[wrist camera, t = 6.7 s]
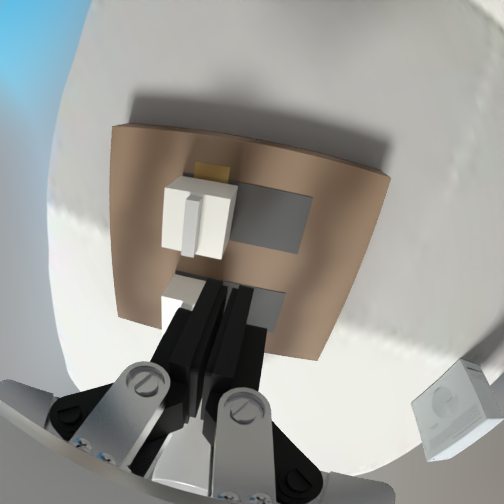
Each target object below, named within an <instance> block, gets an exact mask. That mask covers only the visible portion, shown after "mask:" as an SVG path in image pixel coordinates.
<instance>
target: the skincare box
mask: <svg viewBox="0 0 504 504" xmlns="http://www.w3.org/2000/svg"><path fill="white" fill-rule="evenodd" d="M411 406H412V409H413V412H414V415H415V419H416V422H417V425H418V429H419V432H420V436H421V440H422V444H423V447H424V451H425V456H426V460H427V462H428V461H437V460H445V459H450V458H451V457H453V456H455V455H456V454H457V453H459V452H461V451H462V450H464V449H465V448H466V447H468V446H469V445H471V444H472V443H474V442H475V441H476V440H478V439H479V438H481V437H482V436H483V435H485V434H486V433H487V432H489V431H490V430H491V429H492V428H494V427H495V426H496V425H497V424H499V423H500V422H501V421H502V420H503V419H504V416H503V414H502V411H501V409H500V407H499V405H498V402H497V400H496V398H495V396H494V394H493V392H492V390H491V387H490V385H489V383H488V381H487V379H486V377H485V375H484V373H483V371H482V369H481V368H480V366H479V365H477V364H474V363H471V362H469V361H466V360H464V359H459V360H458V361H457V362H456V363H455V364H454V365H453V366H452V367H451V368H450V369H449V370H448V371H447V372H446V373H445V374H444V375H443V376H442V377H441V378H439V379H438V380H437V381H436V382H435V383H434V384H433V385H432V386H431V387H430V388H428V389H427V390H426V391H425V392H424V393H423V394H422V395H420V396H419V397H418V398H417V399H415V400H414V401H413V402H412V403H411Z"/></svg>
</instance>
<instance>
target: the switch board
mask: <svg viewBox="0 0 504 504" xmlns="http://www.w3.org/2000/svg"><path fill="white" fill-rule="evenodd" d="M180 176H185V177H191V178H197V179H203V180H208V181H214V182H220V183H225V184H231V185H236V186H238V189H237V195H236V201H235V207H234V213H233V219H232V225H231V231H230V237H229V241H228V244H227V246H226V249H225V251H224V254H223V256H222V259H221V260H220V259H216V258H211V257H206V256H201V255H197V254H195V256H194V258H192V257H187V256H183V255H181V251H178V250H173V249H169V248H164V247H161V246H162V222H163V205H164V191H165V187H166V186H168V185H169V184H170V183H172V182H173V181H174V180H176V179H177V178H179V177H180ZM390 180H391V178H390V177H389V176H388V175H386V174H385V173H383V172H382V171H380V170H378V169H374V168H371V167H368V166H365V165H361V164H358V163H354V162H351V161H347V160H344V159H340V158H337V157H333V156H329V155H325V154H321V153H317V152H313V151H309V150H305V149H301V148H296V147H292V146H287V145H283V144H278V143H273V142H268V141H263V140H258V139H253V138H247V137H241V136H235V135H229V134H223V133H216V132H210V131H202V130H195V129H186V128H178V127H168V126H157V125H145V124H130V123H128V124H122V125H116V126H112V139H111V156H110V235H111V252H112V266H113V277H114V287H115V295H116V304H117V311H118V317H120V318H124V319H127V320H130V321H134V322H137V323H140V324H144V325H147V326H151V327H154V328H158V329H162V304H161V296H162V294H163V292H164V290H165V289H166V287H167V285H168V284H169V282H170V280H171V279H172V277H173V275H174V274H177V275H181V276H185V277H190V278H194V279H199V280H203V281H207V279H208V278H212V279H217V280H221V281H223V285H224V286H228V292H227V298H226V304H225V309H226V306H227V303H228V300H229V297H230V294H231V291H232V288H237V289H238V288H239V285H242V286H247V287H251V288H254V292H253V296H252V301H251V305H250V309H249V314H248V318H247V323H246V324H249V325H253V326H258V327H262V328H267V336H266V343H265V350H264V353H270V354H276V355H282V356H288V357H294V358H301V359H308V360H315V361H317V360H318V358H319V357H320V355H321V353H322V351H323V349H324V346H325V344H326V342H327V340H328V338H329V336H330V334H331V332H332V330H333V328H334V326H335V323H336V321H337V319H338V317H339V315H340V313H341V310H342V308H343V306H344V304H345V301H346V299H347V297H348V294H349V292H350V290H351V287H352V285H353V283H354V280H355V278H356V275H357V273H358V270H359V268H360V265H361V263H362V260H363V258H364V255H365V253H366V250H367V247H368V245H369V242H370V239H371V237H372V234H373V231H374V228H375V225H376V223H377V220H378V217H379V214H380V211H381V208H382V205H383V202H384V199H385V196H386V193H387V189H388V186H389V183H390ZM224 312H225V310H224Z"/></svg>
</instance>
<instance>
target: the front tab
mask: <svg viewBox="0 0 504 504" xmlns="http://www.w3.org/2000/svg"><path fill="white" fill-rule="evenodd" d="M237 189H238V186H236V185H231V184H225V183H220V182H214V181H208V180H203V179H197V178H191V177H185V176H180V177H179V178H177V179H176V180H174V181H173V182H172V183H170V184H169V185H168V186H166V187H165V191H164V205H163V222H162V246H161V247H164V248H169V249H173V250H178V251H181V255H183V256H187V257H192V258H194V256H195V254H197V255H201V256H206V257H211V258H216V259H220V260H221V259H222V256H223V254H224V251H225V249H226V246H227V244H228V241H229V237H230V231H231V225H232V219H233V213H234V207H235V201H236V195H237Z"/></svg>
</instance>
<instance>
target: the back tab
mask: <svg viewBox="0 0 504 504" xmlns="http://www.w3.org/2000/svg"><path fill="white" fill-rule="evenodd" d="M205 283H206V281H203V280H199V279H194V278H190V277H185V276H181V275H177V274H174V275H173V277H172V279H171V280H170V282H169V284H168V285H167V287H166V289H165V290H164V292H163V294H162V296H161V304H162V334H163V335H164V333H165V331H166V330H167V328H168V326H169V324H170V322H171V320H172V318H173V316H174V314H175V312H176V311H177V309H178V308H179V307H180V308H184V309H188V310H191V311H192V310H193V308H194V306H195V304H196V302H197V300H198V297H199V295H200V293H201V291H202V289H203V287H204V285H205Z"/></svg>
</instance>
